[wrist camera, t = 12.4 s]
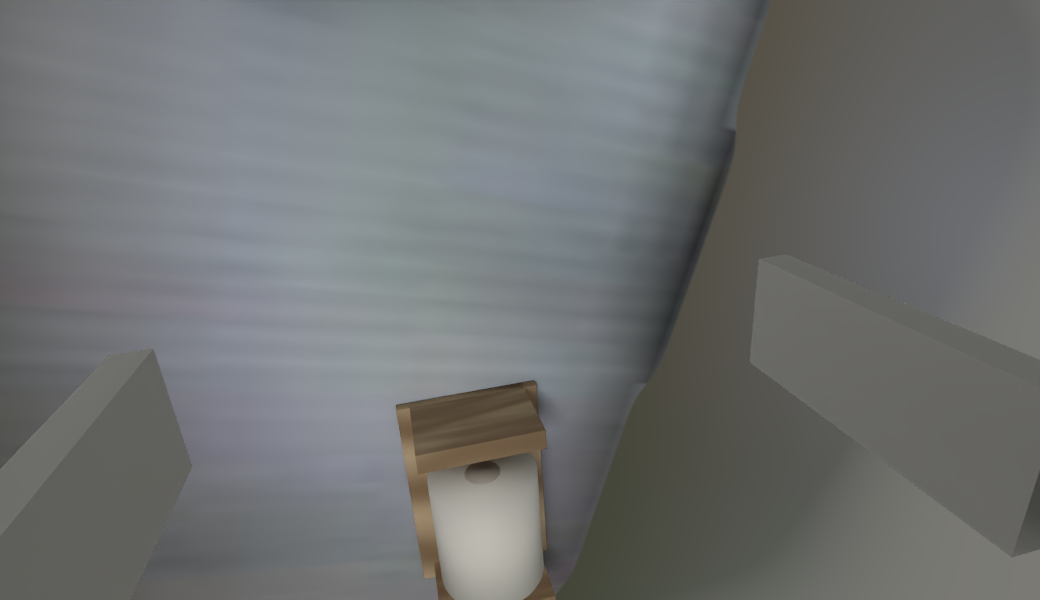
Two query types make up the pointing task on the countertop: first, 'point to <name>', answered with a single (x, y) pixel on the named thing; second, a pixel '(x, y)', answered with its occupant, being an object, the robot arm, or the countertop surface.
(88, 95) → the countertop surface
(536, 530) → the roll
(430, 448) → the holder
